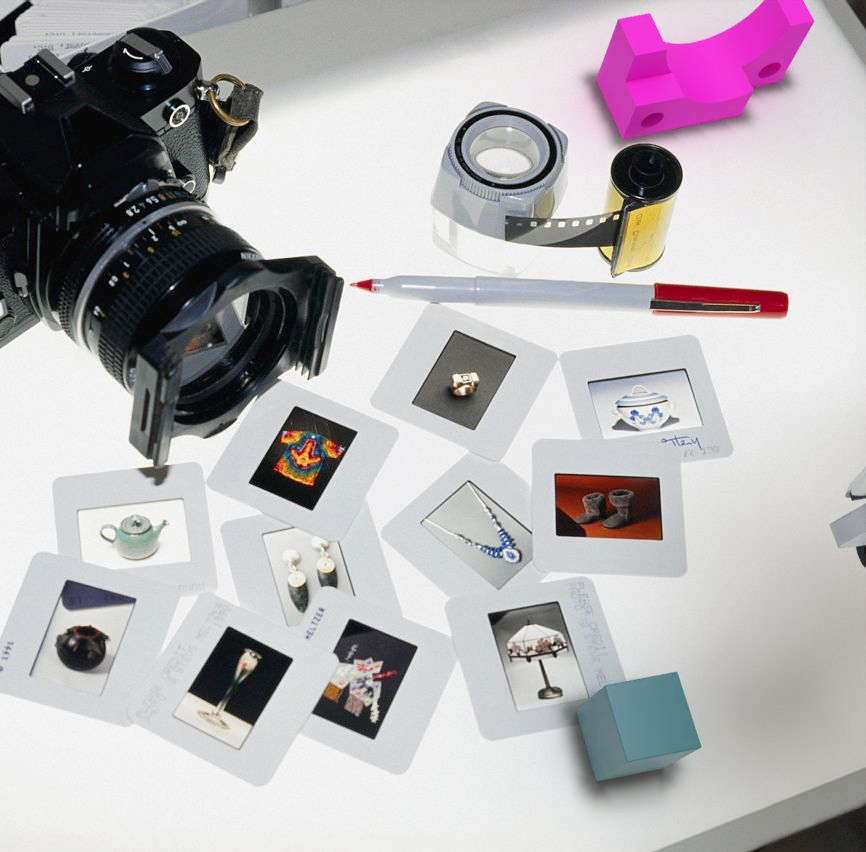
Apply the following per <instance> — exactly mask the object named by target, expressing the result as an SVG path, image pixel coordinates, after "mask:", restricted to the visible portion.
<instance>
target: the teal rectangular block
mask: <svg viewBox="0 0 866 852" xmlns="http://www.w3.org/2000/svg"><path fill="white" fill-rule="evenodd" d="M575 713H576V717H577V720H578V724H579V727H580V731H581V734H582V737H583V741H584V745H585V748H586V752H587V755H588V759H589V762H590V765H591V769H592V774H593V776H594V777H593V778H594V780H595V782H602V781H607V780H611V779H616V778H621V777H628V776H632V775H636V774H643V773H647V772H653V771H656V770H662V769H665V768H666V767H669V766H670V765H672V764H674V763H676V762H678V761H679V760H681V759H684V758H685V757H687V756H689V755H691V754H693V753H694V752H696V751H698V750H700V749H701V748H702V744H701V742H700V741H701V740H700V737H699V734H698V731H697V729H696V726H695V723H694V720H693V716H692V712H691V710H690V707H689V703H688V701H687V698H686V694H685V691H684V688H683V684H682V682H681V679H680V675H679V673H678V671H672V672H668V673H662V674H657V675H652V676H646V677H642V678H641V677H640V678H636V679H631V680H625V681H619V682H615V683H610V684H605V685H604V686H603V687H601V688H600V689H599V690H598V691H597V692H596V693H594V695H592V696H591V697H590V698H589V699H588V700H587V701H586V702H584V703H583V704H582V705H581V706H579V708H578V709H577V710H576V711H575Z"/></svg>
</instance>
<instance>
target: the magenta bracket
mask: <svg viewBox="0 0 866 852" xmlns="http://www.w3.org/2000/svg"><path fill="white" fill-rule="evenodd" d="M814 24H815V19H814V17H813V15H812V14H811V11H810V10H809V8H808V6H807V4H806V2H805V1H804V0H762V2H761V3H760V4H759V5H758V6H757V7H755V9H754V10H752V12H750V13H749V14H748V15H747V16H745V17H743V19H741V20H740V21H738V22H737V23H735V24H734V25H732V26H730V27H729V28H727V29H725V30H724V31H722V32H721V31H720V32H719V33H717V34H715V35H712V36H709V37H706V38H704V39H701V40H697V41H692V42H686V43H673V42H668V41H665V40H664V38H663V37H662V35H661V32H660V29H658V28H659V27H658V26H657V24H656V22H655V20H654V17H653V16H652V13H650V12H648V13H643V14H642V13H641V14H637V15H632V16H627V17H622V18H618V19H617V21H616V24H615V26H614V29H613V31H612V35H611V37H610V40H609V43H608V46H607V48H606V51H605V54H604V57H603V59H602V61H601V64H600V68H599V70H598V73H597V76H596V78H595V82H596V83H597V85H598V88H599V90H600V93H601V94H602V97H603V99H604V102H605V104H606V107H607V108H608V110H609V112H610V114H611V117H612V120H613V122H614V124H615V125H616V129H617V130H618V132H619V135H620V137H621V140H626V139H627V140H628V139H632V138H636V137H641V136H646V135H652V134H655V133H661V132H664V131H665V132H666V131H671V130H675V129H681V128H686V127H691V126H695V125H700V124H707V123H711V122H715V121H720V120H721V121H722V120H726V119H730V118H735V117H740V116H741V115H742V113H743V111H744V109H745V108H746V107H747V104H748V103H749V100H750V98H751V96H752V95H753V93H754V91H755V90H754V88H755V87H762V86H766V85H770V84H777V83H781V81H782V80H783V78H784V76H785V75H786V73H787V72H788V69H789V67H790V65H791V64H792V62H793V60H794V58H795V57H796V55H797V53H798V51H799V50H800V48H801V46H802V45H803V43H804V41H805V39H806V38H807V35H808V34H809V32H810V30H811V28H812V27H813V25H814Z"/></svg>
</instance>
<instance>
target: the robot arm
mask: <svg viewBox="0 0 866 852" xmlns="http://www.w3.org/2000/svg"><path fill="white" fill-rule="evenodd" d="M844 497H845V498H847V499H850V501H851V502H854V501H860V500H865V499H866V466H865V467H864V468H863V469H862V470H861V471H860V472H859V473H857V475H856V476H855V477H854V478H852V480H851V482H850V483H849V485H847V488H846V490H845V493H844ZM829 529H830V531H831V534H832V536H833V539H834V542H835V544H836V546H837V548H838V549H847V548H855V551H856V554H857V557H858V559H859V561H860V563H861V565H862V566H863V567H864V568H865V569H866V502H865V503H863V504H861V505H860V506H858V507H857V508H855V509H852V510H851V511H849V512H847V513H846V514H844V515H842V516H841V517H839V518H837V519H835V520H834V521H832V522H831V523H829Z"/></svg>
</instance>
